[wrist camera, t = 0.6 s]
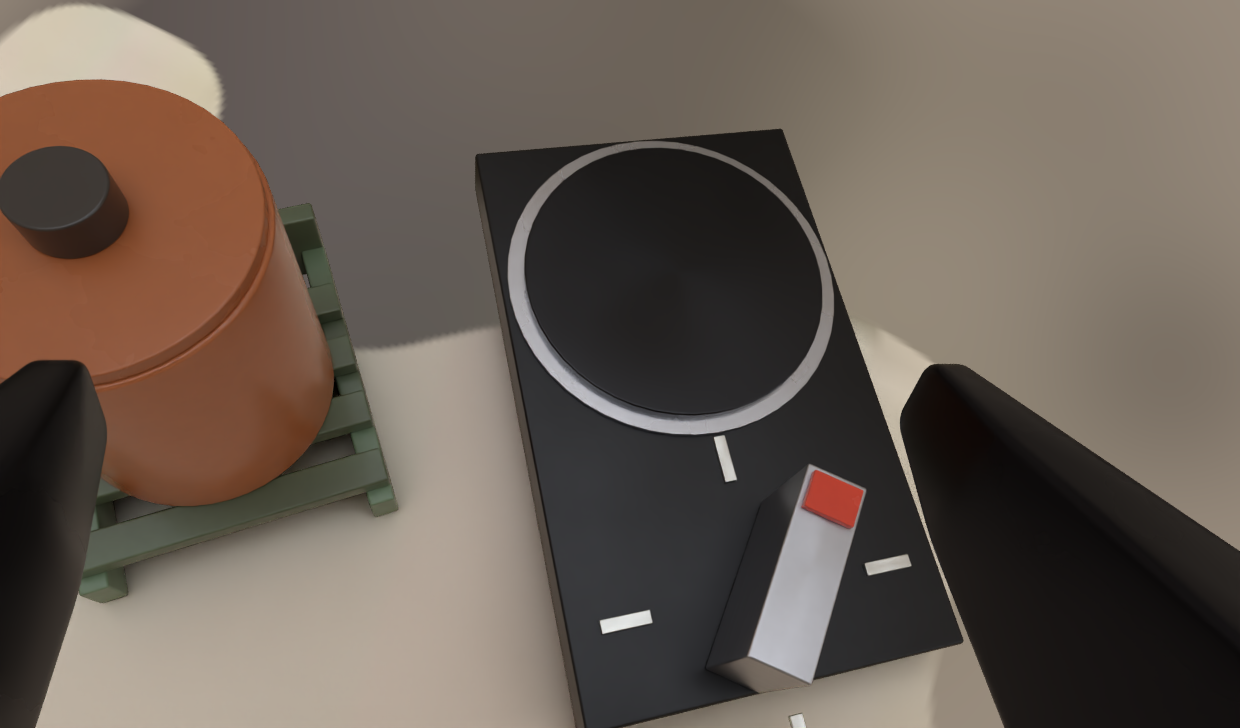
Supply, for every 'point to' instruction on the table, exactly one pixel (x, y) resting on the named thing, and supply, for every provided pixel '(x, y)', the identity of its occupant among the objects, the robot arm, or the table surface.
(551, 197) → the hob plate
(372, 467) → the rack
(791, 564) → the grey and red block
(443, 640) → the table surface
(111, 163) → the pot
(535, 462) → the hob
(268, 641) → the table surface
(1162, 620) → the robot arm
